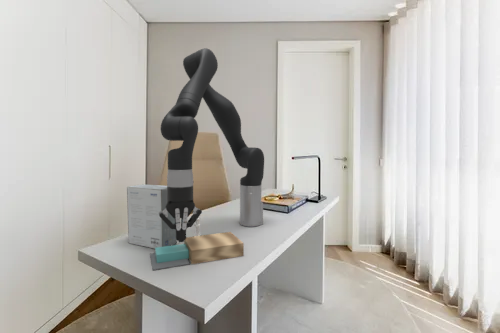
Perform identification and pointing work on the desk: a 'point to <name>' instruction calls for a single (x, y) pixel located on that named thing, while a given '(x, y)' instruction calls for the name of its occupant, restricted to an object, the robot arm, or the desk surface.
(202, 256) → the tan wooden flat box
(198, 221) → the chess piece
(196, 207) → the robot arm
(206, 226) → the desk surface
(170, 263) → the mat
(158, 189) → the hard drive box
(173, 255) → the block
